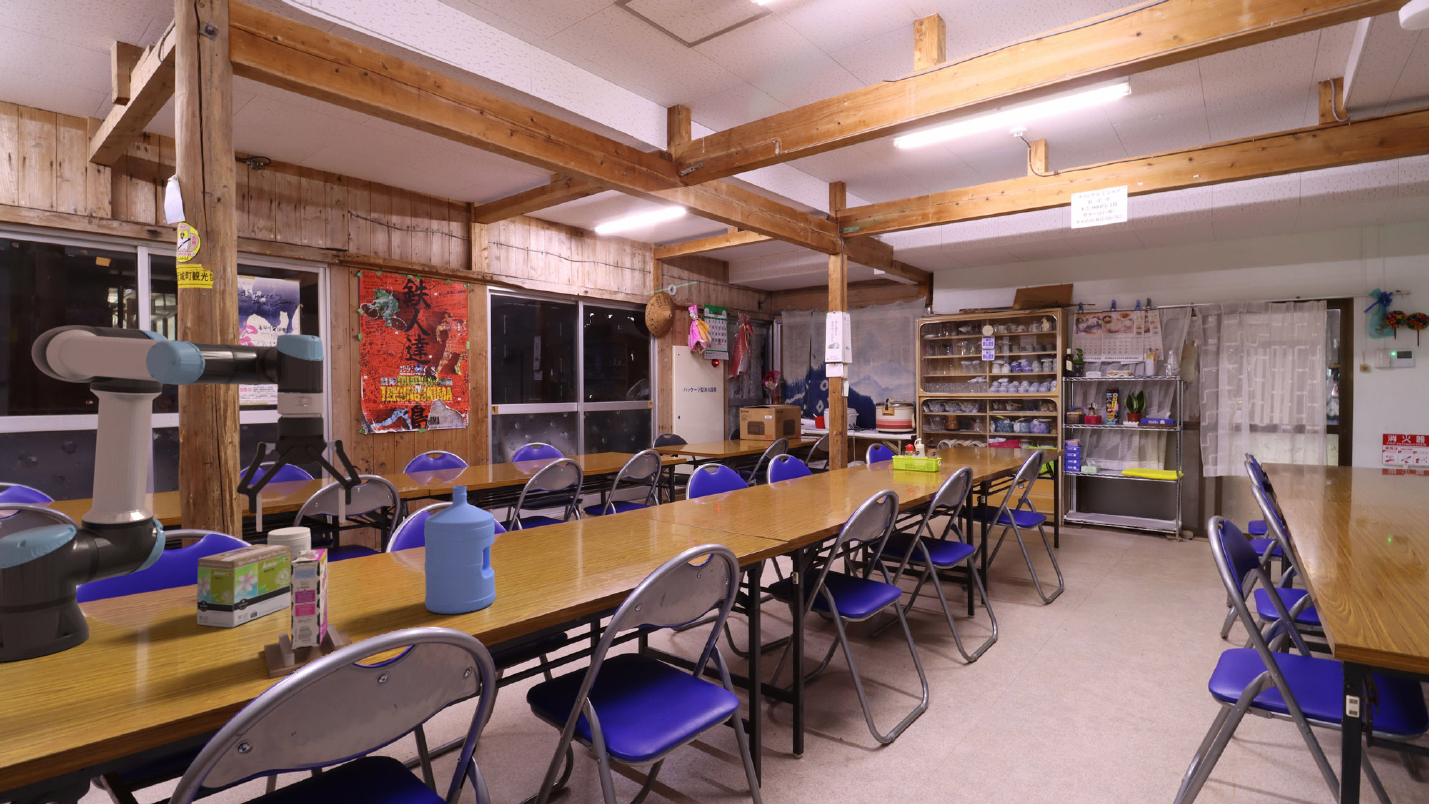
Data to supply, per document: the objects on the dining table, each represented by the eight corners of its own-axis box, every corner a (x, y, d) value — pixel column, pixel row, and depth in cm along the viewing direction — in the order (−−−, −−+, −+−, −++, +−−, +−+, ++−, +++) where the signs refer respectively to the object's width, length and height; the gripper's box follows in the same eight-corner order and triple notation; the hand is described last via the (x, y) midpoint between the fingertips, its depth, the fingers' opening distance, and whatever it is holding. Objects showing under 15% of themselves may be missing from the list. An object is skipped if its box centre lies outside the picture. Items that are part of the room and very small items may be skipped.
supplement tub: (279, 582, 176) (278, 527, 176) (318, 580, 178) (317, 525, 177) (260, 593, 167) (259, 535, 166) (301, 591, 168) (300, 533, 168)
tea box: (234, 629, 142) (233, 560, 142) (196, 625, 144) (194, 558, 144) (292, 606, 157) (291, 544, 156) (256, 603, 159) (255, 542, 158)
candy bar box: (322, 647, 124) (320, 559, 123) (290, 651, 122) (288, 562, 121) (329, 627, 134) (328, 547, 133) (300, 631, 132) (299, 549, 131)
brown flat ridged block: (269, 678, 117) (269, 661, 117) (264, 650, 130) (264, 635, 130) (358, 658, 126) (358, 643, 126) (345, 634, 138) (344, 619, 138)
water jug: (438, 620, 146) (437, 494, 146) (416, 603, 158) (414, 486, 158) (506, 605, 157) (505, 487, 156) (480, 590, 168) (479, 480, 168)
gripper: (220, 418, 116) (221, 538, 117) (376, 415, 131) (377, 521, 132) (219, 416, 122) (220, 530, 123) (369, 413, 137) (370, 515, 138)
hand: (301, 526), depth 127 cm, fingers open, 13 cm apart
